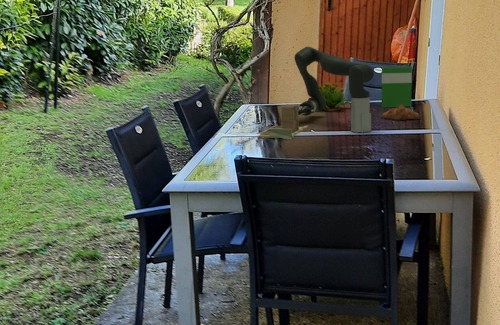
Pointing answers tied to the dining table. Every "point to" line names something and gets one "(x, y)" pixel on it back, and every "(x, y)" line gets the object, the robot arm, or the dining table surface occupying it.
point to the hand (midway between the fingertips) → (298, 112)
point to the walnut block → (290, 117)
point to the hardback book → (396, 86)
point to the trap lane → (280, 132)
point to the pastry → (400, 114)
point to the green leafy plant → (332, 96)
